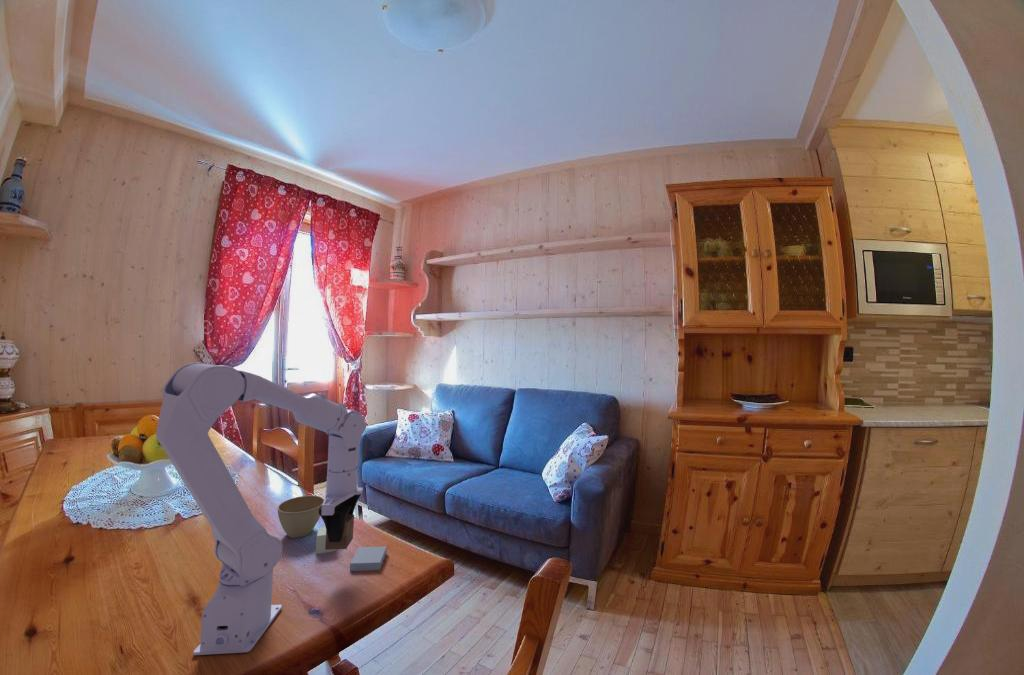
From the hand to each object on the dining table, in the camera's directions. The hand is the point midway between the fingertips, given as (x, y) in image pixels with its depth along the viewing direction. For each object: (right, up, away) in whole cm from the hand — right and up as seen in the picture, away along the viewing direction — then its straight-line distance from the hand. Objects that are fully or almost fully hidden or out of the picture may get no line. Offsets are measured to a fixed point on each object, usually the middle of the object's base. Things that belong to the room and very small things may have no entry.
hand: (339, 535), depth 73 cm
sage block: (-7, -8, +9) cm, 14 cm away
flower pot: (-17, -8, +15) cm, 24 cm away
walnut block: (0, -2, 0) cm, 2 cm away
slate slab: (+4, -9, +4) cm, 11 cm away
